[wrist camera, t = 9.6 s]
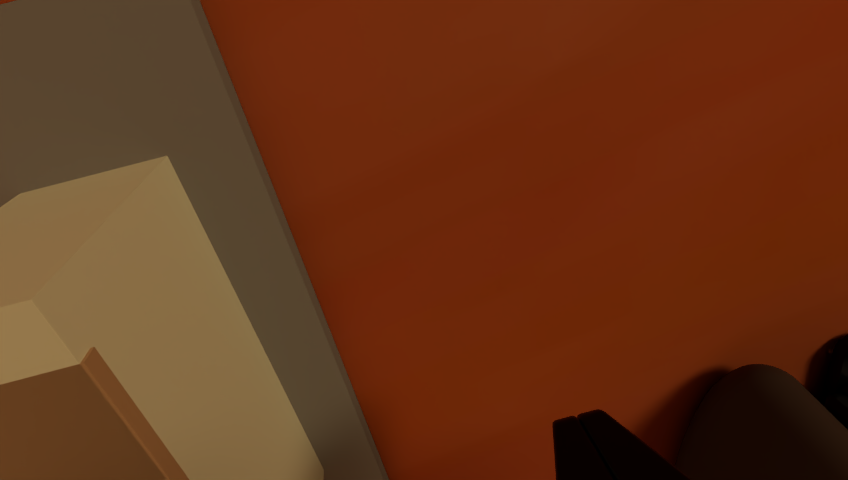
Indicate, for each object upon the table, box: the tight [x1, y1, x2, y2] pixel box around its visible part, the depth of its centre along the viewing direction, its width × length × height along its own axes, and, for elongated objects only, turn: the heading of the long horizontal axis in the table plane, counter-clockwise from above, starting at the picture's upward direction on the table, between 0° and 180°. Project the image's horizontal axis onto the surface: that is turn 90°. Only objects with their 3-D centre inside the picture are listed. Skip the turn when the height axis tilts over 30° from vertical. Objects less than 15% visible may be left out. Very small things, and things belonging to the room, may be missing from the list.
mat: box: [0, 0, 389, 480], centre depth 13 cm, size 13×16×1 cm
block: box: [0, 156, 324, 480], centre depth 10 cm, size 3×10×5 cm, turn 13°
